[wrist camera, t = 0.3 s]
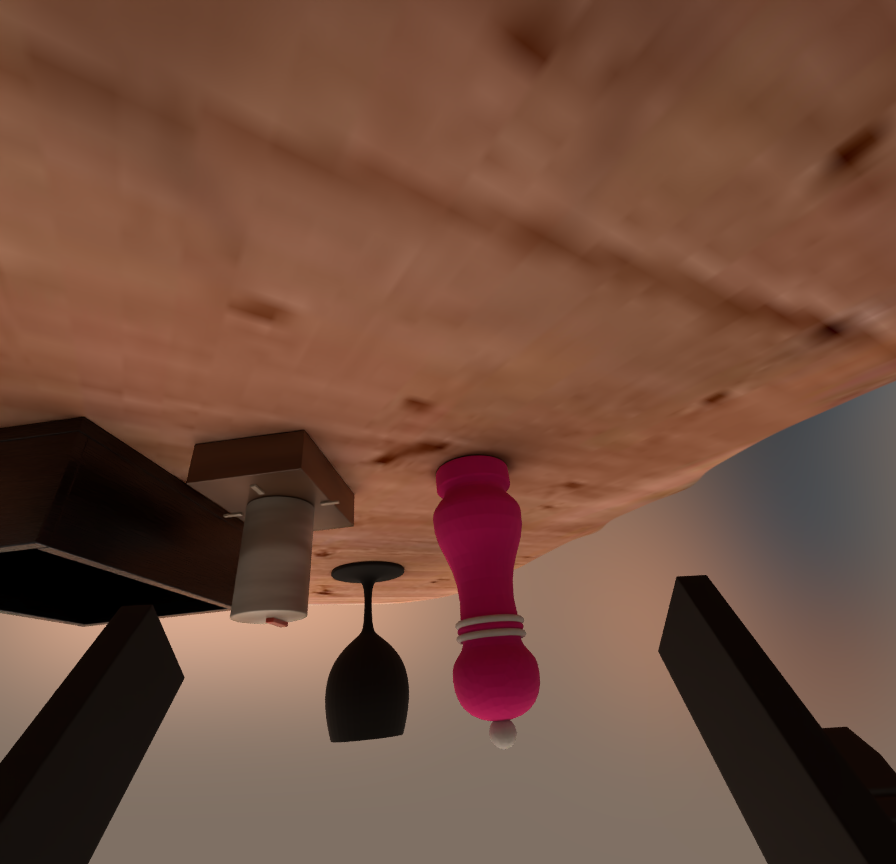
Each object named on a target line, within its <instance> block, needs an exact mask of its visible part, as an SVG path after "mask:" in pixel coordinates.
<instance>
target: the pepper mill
mask: <svg viewBox="0 0 896 864" xmlns="http://www.w3.org/2000/svg"><path fill="white" fill-rule="evenodd" d="M436 485H437V493H438V495H439V496H440V497H441V498H442V499H443V500H442V501H441V502H440V503H439V505H438V506H437V508H436V510H435V512H434V516H433V523H434V529H435V535H436V538H437V541H438V543H439V546H440V548H441V550H442V552H443V554H444V556H445V558H446V560H447V562H448V564H449V566H450V568H451V570H452V572H453V575H454V578H455V581H456V584H457V588H458V594H459V600H460V613H461V614H460V615H461V621H459V622H458V623H457V624H456V629H457V630H458V635H459V636H458V637H457V642H458V643H460V644H463V648H462V651H461V653H460V655H459V657H458V658H457V660H456V662H455V664H454V668H453V683H454V688H455V693H456V695H457V697H458V700H459V702H460V704H461V705H462V706H463V708H464V709H465V710H466V711H467V712H469V713H470V714H471V715H472V716H475V717H477V718H479V719H482V720H487V721H493V722H492V724H491V726H490V730H489V735H490V738H491V741H492V743H493V744H494V745H495V746H496V747H498V748H500V749H507V748H510V747H511V746H512V745H513V744H514V742H515V740H516V729H515V726H514V724H513V723H512V722H511V721H510V719H513V718H516V717H518V716H521V715H523V714H524V713H525V712H527V711H528V710H529V709H530V708H531V707H532V705H533V704H534V702H535V701H536V698H537V695H538V693H539V686H540V676H539V668H538V664H537V661H536V659H535V657H534V656H533V655H532V653H531V652H530V651H529V650H528V649H527V648H526V647H525V646H524V644H523V642H522V640H521V638H523V637H525V635H526V632H525V630H523V624H522V623H523V622H524V618H523V617H522V616H520V615H517V611H516V606H515V601H514V596H513V569H514V563H515V558H516V554H517V550H518V546H519V542H520V538H521V528H522V520H521V510H520V507H519V505H518V503H517V501H516V500H515V499H514V498H513V497H511V496H510V495H509V494H508V493H506V491H507V490H508V489H509V487H510V481H509V474H508V468H507V465H506V464H505V463H504V462H503V461H502V460H500V459H498V458H495V457H491V456H484V455H474V456H465V457H461V458H457V459H454V460H451V461H449V462H447V463H445V464H444V465H442V466H441V467H440V468H439V469H438V471H437V473H436Z"/></svg>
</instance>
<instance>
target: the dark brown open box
mask: <svg viewBox="0 0 896 864" xmlns="http://www.w3.org/2000/svg"><path fill="white" fill-rule="evenodd" d="M224 514H230V513H229V512H227V511H226V510H224V509H223V508H221V507H220V506H218V505H217V504H215V503H214V502H212V501H211V500H209V499H208V498H206V497H205V496H203V495H202V494H200V493H199V492H197V491H195V490H194V489H192V488H191V487H189V486H188V485H186V484H185V483H183V482H182V481H180V480H179V479H177V478H176V477H174V476H173V475H171V474H170V473H168V472H167V471H165V470H164V469H162V468H160V467H159V466H157V465H156V464H154V463H153V462H151V461H150V460H148V459H147V458H145V457H144V456H142V455H141V454H139V453H138V452H136V451H135V450H133V449H132V448H130V447H128V446H127V445H125V444H124V443H122V442H121V441H119V440H118V439H116V438H115V437H113V436H112V435H110V434H109V433H107V432H106V431H104V430H103V429H101V428H100V427H98V426H97V425H95V424H93V423H92V422H90V421H89V420H87V419H86V418H84V417H82V418H75V419H68V420H60V421H53V422H46V423H39V424H32V425H24V426H17V427H10V428H3V429H0V613H4V614H11V615H16V616H22V617H29V618H35V619H41V620H47V621H53V622H59V623H65V624H71V625H77V626H83V627H85V626H93V625H103V624H108V623H109V622H110V620H111V619H112V618H113V616H114V615H115V614H116V612H117V611H118V610H119V609H120V607H121V606H133V605H152V604H153V606H154V609H155V611H156V613H157V616H158V618H165V617H175V616H184V615H193V614H202V613H211V612H220V611H228V610H231V607H232V601H233V594H234V587H235V581H236V574H237V567H238V561H239V554H240V547H241V540H242V534H243V527H244V522H243V521H241V520H240V519H238V518H237V517H227V518H225V517H224V516H223V515H224Z"/></svg>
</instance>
